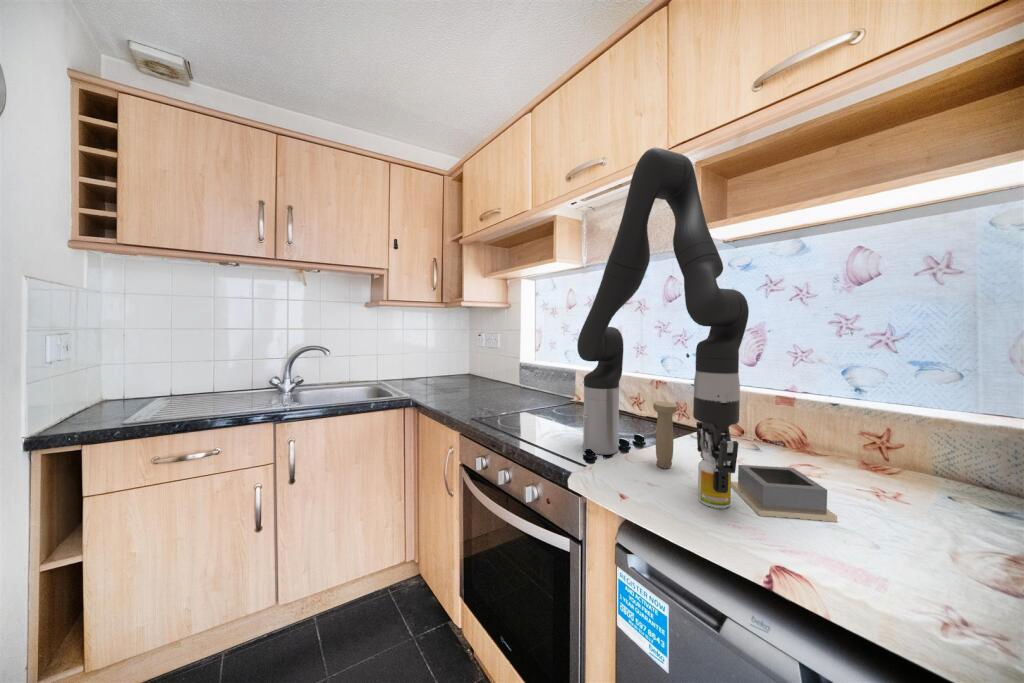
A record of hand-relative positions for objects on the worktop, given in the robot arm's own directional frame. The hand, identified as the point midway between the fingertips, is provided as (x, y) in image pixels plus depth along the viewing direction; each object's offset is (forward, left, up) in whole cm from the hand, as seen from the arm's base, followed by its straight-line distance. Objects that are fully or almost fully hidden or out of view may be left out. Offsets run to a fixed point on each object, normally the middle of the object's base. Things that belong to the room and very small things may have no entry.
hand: (714, 484), depth 68 cm
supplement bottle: (0, 0, -4) cm, 4 cm away
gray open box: (+12, +2, -3) cm, 13 cm away
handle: (-5, +17, -4) cm, 18 cm away
